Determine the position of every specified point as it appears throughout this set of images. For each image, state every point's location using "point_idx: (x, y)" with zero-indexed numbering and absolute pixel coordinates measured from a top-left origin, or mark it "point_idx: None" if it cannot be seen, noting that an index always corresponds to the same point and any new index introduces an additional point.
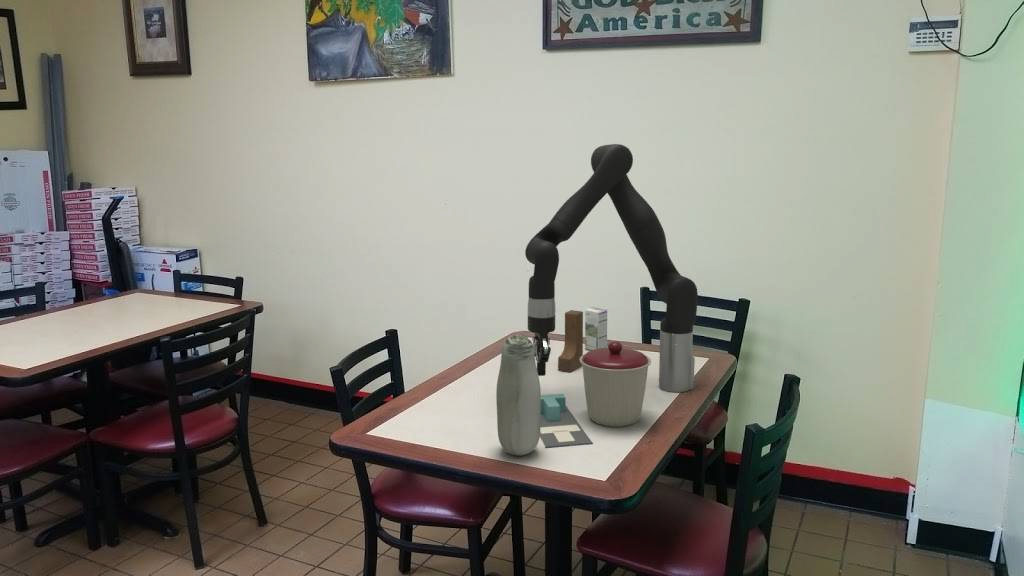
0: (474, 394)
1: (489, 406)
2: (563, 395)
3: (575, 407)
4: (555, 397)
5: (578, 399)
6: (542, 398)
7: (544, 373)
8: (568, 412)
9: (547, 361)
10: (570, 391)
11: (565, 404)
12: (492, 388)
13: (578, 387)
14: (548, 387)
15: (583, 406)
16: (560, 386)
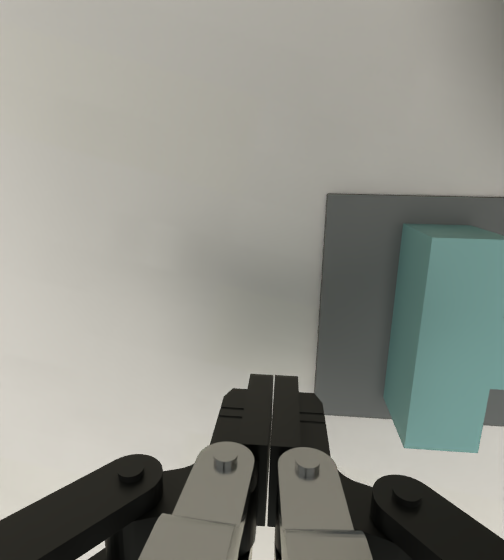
0: (88, 555)
1: (255, 535)
2: (470, 243)
3: (393, 138)
4: (488, 307)
5: (260, 79)
6: (476, 392)
7: (316, 398)
8: (488, 211)
9: (429, 494)
10: (107, 90)
11: (493, 232)
12: (15, 474)
13: (38, 13)
14: (22, 207)
15: (392, 82)
16: (10, 130)
